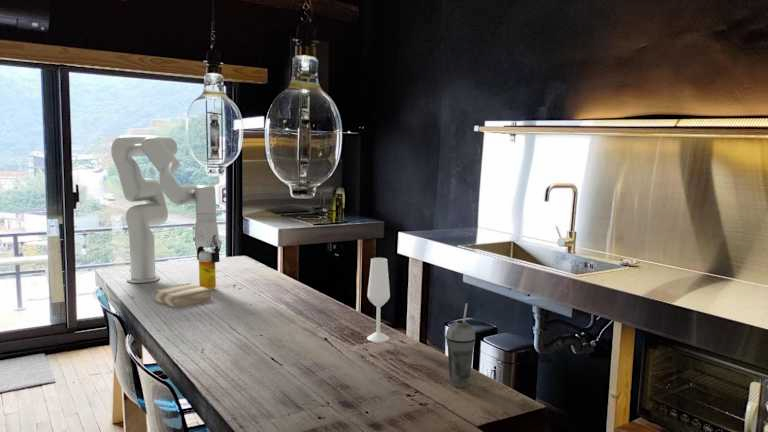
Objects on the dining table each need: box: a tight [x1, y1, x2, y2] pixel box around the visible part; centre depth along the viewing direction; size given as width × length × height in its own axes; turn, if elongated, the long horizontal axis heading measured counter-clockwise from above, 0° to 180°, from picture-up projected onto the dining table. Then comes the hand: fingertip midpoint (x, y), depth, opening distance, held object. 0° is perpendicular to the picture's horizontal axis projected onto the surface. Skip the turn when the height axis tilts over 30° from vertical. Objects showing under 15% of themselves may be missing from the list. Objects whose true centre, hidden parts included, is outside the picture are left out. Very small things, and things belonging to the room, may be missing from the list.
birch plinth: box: [154, 282, 212, 309], centre depth 210 cm, size 14×14×4 cm
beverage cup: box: [445, 302, 477, 388], centre depth 138 cm, size 7×7×20 cm
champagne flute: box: [366, 257, 391, 343], centre depth 170 cm, size 7×7×24 cm
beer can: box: [198, 250, 217, 292], centre depth 225 cm, size 6×6×15 cm
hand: (208, 260), depth 224 cm, fingers open, 9 cm apart
